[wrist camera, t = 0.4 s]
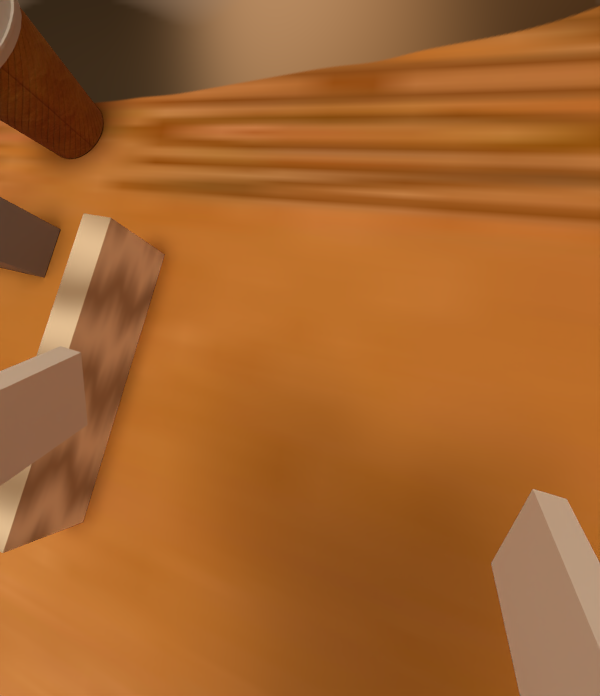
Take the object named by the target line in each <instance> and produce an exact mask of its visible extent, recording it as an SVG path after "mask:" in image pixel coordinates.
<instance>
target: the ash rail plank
mask: <svg viewBox="0 0 600 696" xmlns="http://www.w3.org/2000/svg"><path fill="white" fill-rule="evenodd" d="M164 255H165V254H163V253H162V252H160V251H159V250H157V249H156V248H154V247H153V246H151V245H150V244H148V243H147V242H145V241H144V240H143V239H141V238H140V237H138V236H137V235H135V234H134V233H132V232H131V231H129V230H128V229H126V228H125V227H123V226H122V225H121V224H119V223H118V222H116V221H115V220H113V219H112V218H108V217H102V216H96V215H90V214H83V217H82V220H81V223H80V226H79V229H78V232H77V235H76V238H75V241H74V244H73V247H72V250H71V253H70V256H69V259H68V262H67V265H66V268H65V271H64V274H63V277H62V280H61V283H60V287H59V290H58V293H57V296H56V299H55V302H54V305H53V308H52V311H51V314H50V317H49V320H48V323H47V326H46V329H45V332H44V335H43V338H42V341H41V344H40V347H39V350H38V353H37V356H38V355H41V354H43V353H45V352H48V351H50V350H52V349H55V348H57V347H60V346H62V347H65V348H68V349H72V350H75V351H78V352H81V358H82V369H83V379H84V390H85V401H86V412H87V423H88V425H87V426H85V427H84V428H82V429H81V430H80V431H78V432H77V433H75V434H74V435H72V436H71V437H70V438H68V439H67V440H65V441H64V442H62V443H61V444H60V445H58V446H57V447H55V448H54V449H52V450H51V451H50V452H48V453H47V454H45V455H44V456H42V457H41V458H40V459H38V460H37V461H35V462H34V463H32V464H31V465H30V466H28V467H27V468H25V469H24V470H22V471H21V472H20V473H18V474H17V475H15V476H14V477H12V478H11V479H10V480H8V481H7V482H5V483H4V484H2V485H1V486H0V552H2V553H4V552H7V551H9V550H12V549H14V548H17V547H20V546H22V545H25V544H27V543H30V542H33V541H35V540H38V539H40V538H43V537H46V536H48V535H51V534H53V533H56V532H59V531H61V530H64V529H66V528H69V527H72V526H74V525H77V524H79V523H82V522H83V521H84V517H85V514H86V511H87V507H88V504H89V501H90V498H91V494H92V491H93V488H94V484H95V481H96V478H97V475H98V471H99V468H100V465H101V462H102V458H103V455H104V452H105V448H106V445H107V442H108V439H109V435H110V432H111V429H112V426H113V422H114V419H115V416H116V412H117V409H118V406H119V403H120V399H121V396H122V393H123V390H124V386H125V383H126V380H127V376H128V373H129V370H130V367H131V363H132V360H133V357H134V353H135V350H136V347H137V344H138V340H139V337H140V334H141V331H142V327H143V324H144V321H145V317H146V314H147V311H148V308H149V304H150V301H151V298H152V295H153V291H154V288H155V285H156V281H157V278H158V275H159V272H160V268H161V265H162V262H163V259H164Z"/></svg>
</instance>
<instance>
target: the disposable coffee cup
mask: <svg viewBox="0 0 600 696" xmlns="http://www.w3.org/2000/svg"><path fill="white" fill-rule="evenodd" d="M0 120H1V121H3V122H4V123H6V124H8V125H9V126H11V127H13V128H14V129H16V130H18V131H19V132H21V133H23V134H25V135H26V136H28V137H29V138H31V139H33V140H34V141H36V142H38V143H39V144H41V145H43V146H44V147H46V148H48V149H49V150H51V151H53V152H54V153H56V154H57V155H59V156H61V157H63V158H68V159H72V158H77V157H79V156H82V155H84V154H85V153H87V152H88V151H89V150H90V149H92V147H93V146H94V145H95V144H96V142H97V141H98V139H99V137H100V135H101V132H102V129H103V117H102V114H101V112H100V110H99V109H98V107H97V106H96V105H95V104H94V102H93V101H92V100H91V99H90V97H89V96H88V95H87V93H86V92H85V91H84V90H83V88H82V87H81V86H80V84H79V83H78V82H77V80H76V79H75V78H74V77H73V75H72V74H71V72H70V71H69V70H68V69H67V67H66V66H65V65H64V64H63V62H62V61H61V60H60V58H59V57H58V56H57V55H56V53H55V52H54V51H53V49H52V48H51V47H50V46H49V44H48V43H47V42H46V40H45V39H44V38H43V36H42V35H41V34H40V33H39V31H38V30H37V29H36V27H35V26H34V25H33V24H32V22H31V21H30V20H29V18H28V17H27V16H26V14H25V13H24V12H23V10H22V9H21V8H20V6H19V3H18V1H17V0H0Z"/></svg>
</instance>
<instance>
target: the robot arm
mask: <svg viewBox="0 0 600 696" xmlns="http://www.w3.org/2000/svg"><path fill="white" fill-rule="evenodd" d="M87 425H88V423H87V412H86V401H85V390H84V379H83V369H82V358H81V352H78V351H75V350H72V349H68V348H65V347H62V346H60V347H57V348H55V349H52V350H50V351H48V352H45V353H43V354H41V355H38V356H36V357H33V358H31V359H29V360H26V361H24V362H22V363H19V364H17V365H14V366H12V367H10V368H7V369H5V370H3V371H0V486H1V485H2V484H4V483H5V482H7V481H8V480H10V479H11V478H12V477H14V476H15V475H17V474H18V473H20V472H21V471H22V470H24V469H25V468H27V467H28V466H30V465H31V464H32V463H34V462H35V461H37V460H38V459H40V458H41V457H42V456H44V455H45V454H47V453H48V452H50V451H51V450H52V449H54V448H55V447H57V446H58V445H60V444H61V443H62V442H64V441H65V440H67V439H68V438H70V437H71V436H72V435H74V434H75V433H77V432H78V431H80V430H81V429H82V428H84V427H85V426H87ZM491 565H492V570H493V574H494V579H495V583H496V588H497V592H498V597H499V602H500V606H501V611H502V615H503V620H504V625H505V629H506V634H507V638H508V643H509V648H510V652H511V657H512V661H513V666H514V670H515V675H516V680H517V684H518V689H519V693H520V696H600V563H599V561H598V559H597V557H596V555H595V553H594V551H593V549H592V547H591V545H590V543H589V541H588V539H587V537H586V536H585V534H584V532H583V530H582V528H581V526H580V524H579V522H578V520H577V518H576V516H575V514H574V512H573V510H572V508H571V506H570V505H569V503H568V501H567V499H565V498H561V497H558V496H555V495H551V494H548V493H545V492H541V491H538V490H535V489H533V490H532V491H531V493H530V495H529V497H528V498H527V500H526V502H525V504H524V506H523V507H522V509H521V511H520V513H519V515H518V516H517V518H516V520H515V522H514V523H513V525H512V527H511V529H510V531H509V532H508V534H507V536H506V538H505V540H504V541H503V543H502V545H501V547H500V549H499V550H498V552H497V554H496V556H495V557H494V559H493V561H492V563H491Z"/></svg>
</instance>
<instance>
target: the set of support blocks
mask: <svg viewBox="0 0 600 696" xmlns="http://www.w3.org/2000/svg"><path fill="white" fill-rule="evenodd" d="M59 232H60V229H58V228H57V227H55V226H53V225H51V224H49V223H47V222H45V221H44V220H42V219H40V218H38V217H36V216H34V215H32V214H31V213H29V212H27V211H25V210H23V209H21V208H20V207H18V206H16V205H14V204H12V203H10V202H8V201H7V200H5V199H3V198H1V197H0V267H1V268H5V269H10V270H14V271H18V272H23V273H27V274H31V275H35V276H40V277H45V274H46V271H47V268H48V265H49V262H50V259H51V256H52V253H53V250H54V247H55V244H56V241H57V238H58V235H59Z"/></svg>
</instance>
